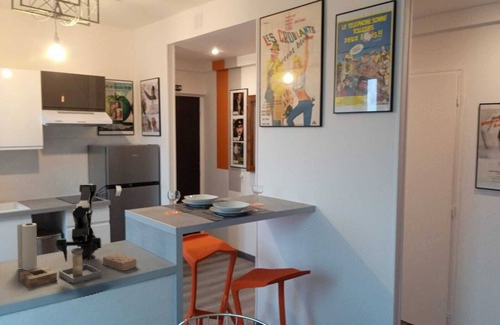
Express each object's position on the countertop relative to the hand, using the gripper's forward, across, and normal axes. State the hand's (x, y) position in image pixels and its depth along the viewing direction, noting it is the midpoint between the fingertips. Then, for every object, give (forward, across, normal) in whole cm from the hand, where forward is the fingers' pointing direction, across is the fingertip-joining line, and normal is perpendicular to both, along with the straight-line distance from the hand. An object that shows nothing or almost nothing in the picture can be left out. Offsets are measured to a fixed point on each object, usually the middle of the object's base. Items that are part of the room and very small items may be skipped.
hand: (77, 260), depth 178 cm
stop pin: (+5, 0, +7) cm, 8 cm away
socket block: (+4, -16, +8) cm, 19 cm away
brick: (-5, +17, +18) cm, 25 cm away
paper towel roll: (-7, -24, +20) cm, 32 cm away
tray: (+3, +1, +10) cm, 10 cm away
